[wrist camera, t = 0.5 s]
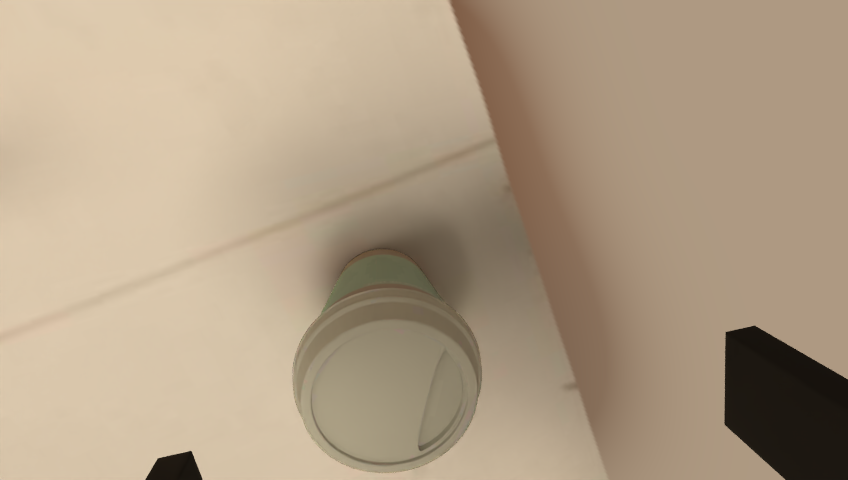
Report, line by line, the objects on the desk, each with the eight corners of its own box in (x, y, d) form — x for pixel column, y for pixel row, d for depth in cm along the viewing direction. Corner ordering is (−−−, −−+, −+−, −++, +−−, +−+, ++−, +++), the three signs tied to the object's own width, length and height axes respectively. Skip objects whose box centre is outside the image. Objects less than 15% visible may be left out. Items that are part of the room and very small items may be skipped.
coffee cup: (384, 371, 33) (394, 515, 22) (287, 295, 31) (241, 412, 19) (472, 285, 32) (531, 389, 21) (378, 199, 30) (386, 263, 18)
